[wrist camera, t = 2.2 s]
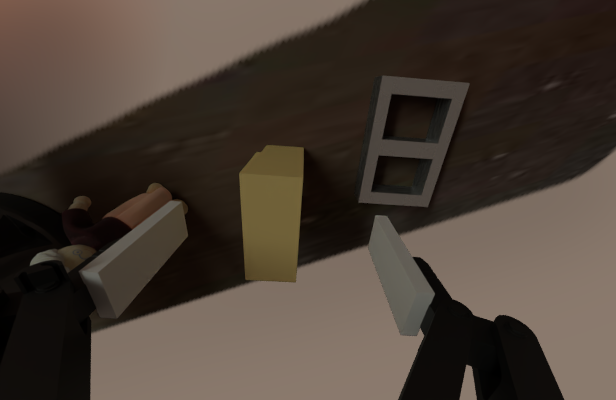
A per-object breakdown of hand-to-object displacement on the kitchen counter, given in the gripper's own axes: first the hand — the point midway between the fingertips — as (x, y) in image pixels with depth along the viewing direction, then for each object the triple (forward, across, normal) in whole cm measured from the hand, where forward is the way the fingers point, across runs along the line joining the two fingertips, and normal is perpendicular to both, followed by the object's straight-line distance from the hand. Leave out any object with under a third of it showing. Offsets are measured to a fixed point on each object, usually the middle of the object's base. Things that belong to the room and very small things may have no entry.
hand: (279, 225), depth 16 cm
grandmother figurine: (+9, -14, -3) cm, 16 cm away
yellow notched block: (+9, -1, 0) cm, 9 cm away
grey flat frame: (+9, +10, +4) cm, 14 cm away
